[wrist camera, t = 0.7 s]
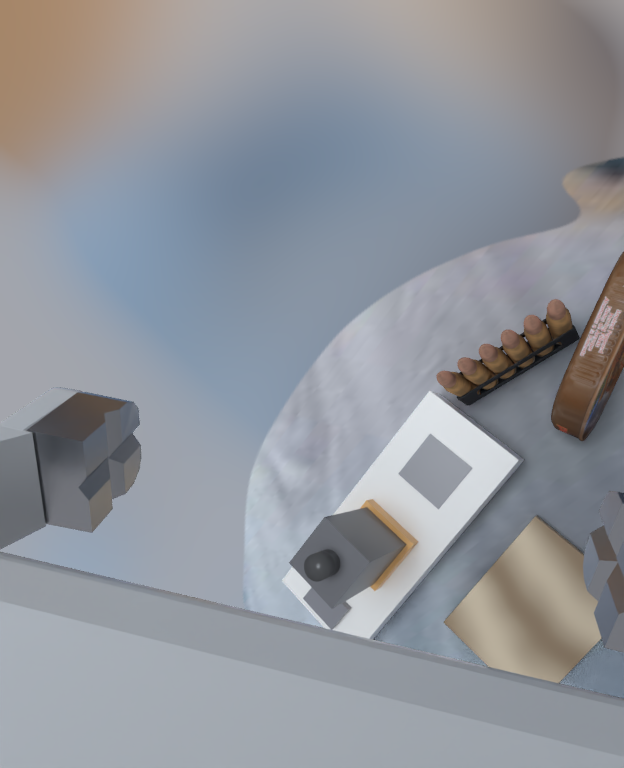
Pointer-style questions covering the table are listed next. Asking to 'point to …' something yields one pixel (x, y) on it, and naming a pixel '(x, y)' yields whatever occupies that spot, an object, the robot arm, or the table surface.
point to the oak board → (531, 608)
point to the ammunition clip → (511, 355)
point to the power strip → (418, 505)
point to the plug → (352, 553)
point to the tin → (594, 362)
